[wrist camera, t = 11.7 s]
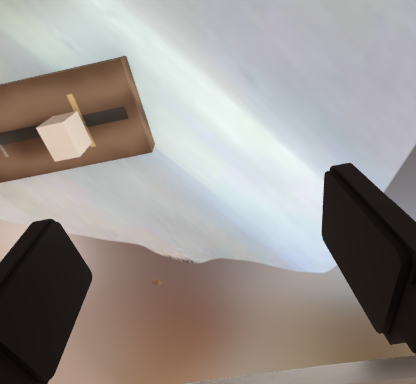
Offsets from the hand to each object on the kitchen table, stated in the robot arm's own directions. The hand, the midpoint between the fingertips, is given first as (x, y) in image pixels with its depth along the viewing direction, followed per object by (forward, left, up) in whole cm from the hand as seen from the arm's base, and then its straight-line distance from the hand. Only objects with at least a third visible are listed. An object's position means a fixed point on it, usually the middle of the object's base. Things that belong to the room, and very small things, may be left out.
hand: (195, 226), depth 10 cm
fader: (+2, -15, -27) cm, 31 cm away
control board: (+2, -20, -30) cm, 36 cm away
